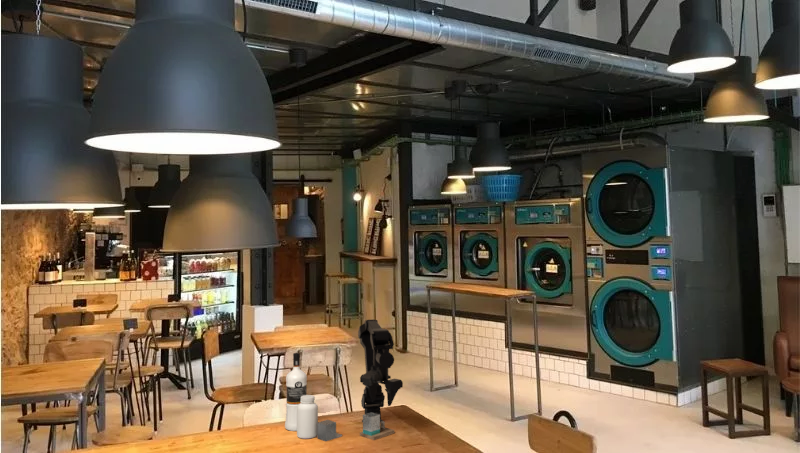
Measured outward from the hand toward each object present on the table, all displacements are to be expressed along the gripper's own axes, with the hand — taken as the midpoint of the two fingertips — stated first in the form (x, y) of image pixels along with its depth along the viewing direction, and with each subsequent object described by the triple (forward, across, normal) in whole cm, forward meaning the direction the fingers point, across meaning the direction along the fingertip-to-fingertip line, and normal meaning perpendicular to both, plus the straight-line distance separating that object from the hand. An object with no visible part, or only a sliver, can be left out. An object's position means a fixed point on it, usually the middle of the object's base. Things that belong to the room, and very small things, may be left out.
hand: (381, 403), depth 218 cm
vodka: (+12, -31, -18) cm, 38 cm away
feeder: (+12, -12, -16) cm, 23 cm away
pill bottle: (+12, -20, -20) cm, 31 cm away
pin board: (+12, -2, -1) cm, 12 cm away
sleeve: (+11, -2, -4) cm, 11 cm away
